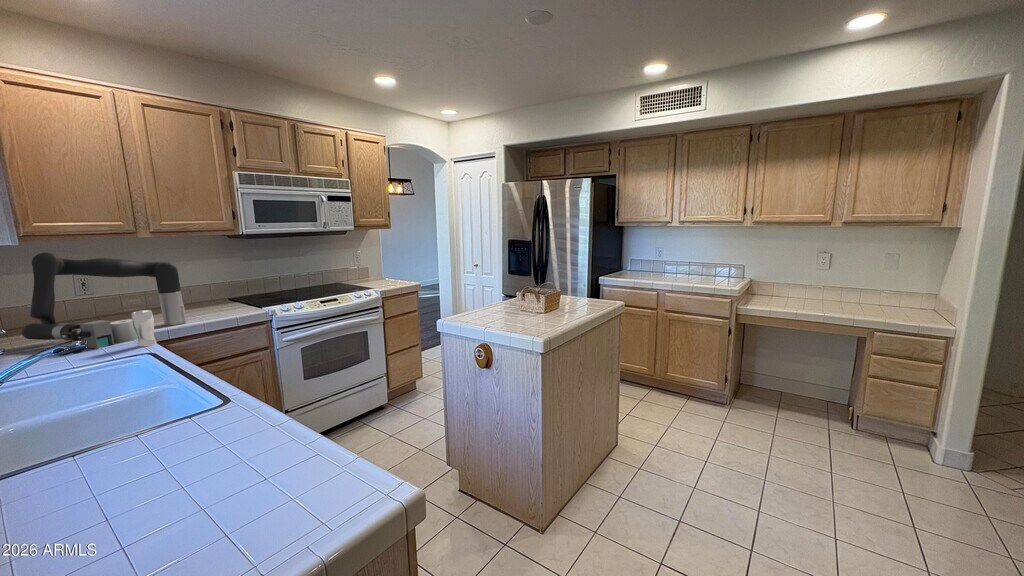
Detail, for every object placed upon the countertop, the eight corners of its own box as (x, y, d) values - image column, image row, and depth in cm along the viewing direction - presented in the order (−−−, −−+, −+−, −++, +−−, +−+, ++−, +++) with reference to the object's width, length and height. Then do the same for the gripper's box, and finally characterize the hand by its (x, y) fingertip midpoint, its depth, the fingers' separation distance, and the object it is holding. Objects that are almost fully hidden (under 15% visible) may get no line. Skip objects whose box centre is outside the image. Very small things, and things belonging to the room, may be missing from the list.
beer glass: (133, 346, 179) (126, 312, 176) (151, 342, 185) (146, 309, 183) (143, 347, 176) (136, 313, 174) (161, 343, 183) (155, 310, 180)
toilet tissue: (99, 342, 188) (96, 323, 187) (138, 335, 198) (135, 318, 196) (99, 345, 182) (95, 327, 181) (139, 339, 191) (136, 321, 190)
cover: (102, 344, 184) (97, 320, 183) (114, 344, 183) (109, 320, 182) (85, 348, 178) (79, 324, 176) (97, 349, 177) (92, 324, 175)
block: (101, 345, 183) (99, 336, 182) (108, 345, 182) (107, 336, 182) (91, 348, 179) (89, 339, 178) (98, 348, 178) (96, 339, 178)
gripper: (47, 327, 174) (78, 328, 171) (86, 319, 188) (116, 319, 185) (51, 344, 175) (82, 345, 173) (90, 335, 189) (119, 336, 187)
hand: (100, 332), depth 179 cm, fingers open, 8 cm apart
